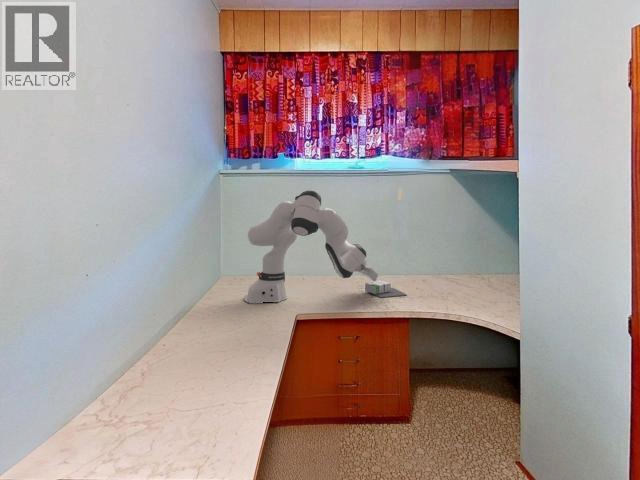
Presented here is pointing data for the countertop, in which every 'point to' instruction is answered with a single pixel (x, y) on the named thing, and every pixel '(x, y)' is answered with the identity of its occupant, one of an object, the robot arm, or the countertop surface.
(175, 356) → the countertop surface
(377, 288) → the ink box
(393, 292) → the mat
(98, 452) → the countertop surface
